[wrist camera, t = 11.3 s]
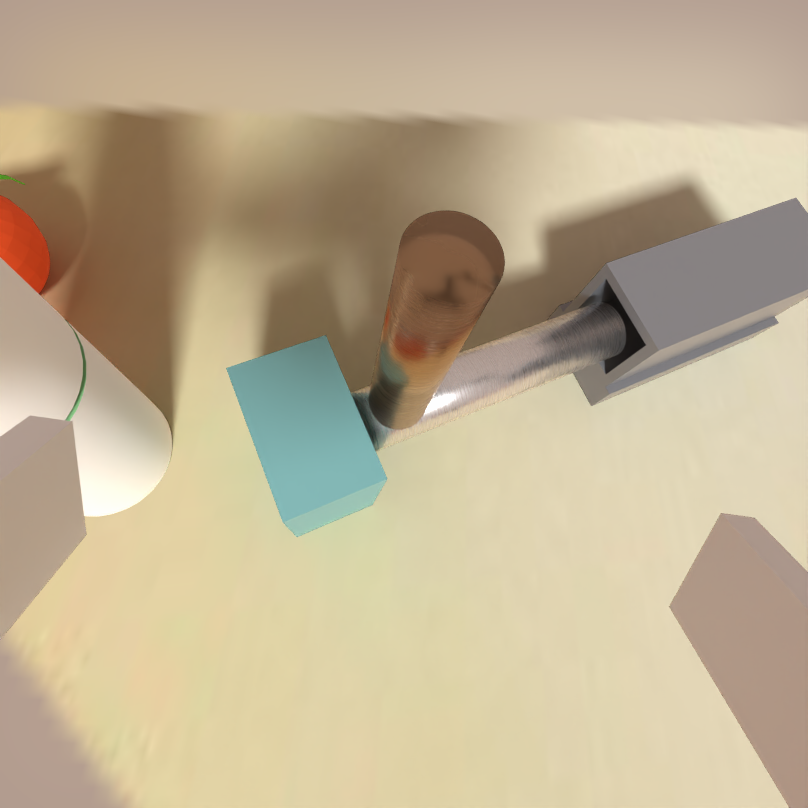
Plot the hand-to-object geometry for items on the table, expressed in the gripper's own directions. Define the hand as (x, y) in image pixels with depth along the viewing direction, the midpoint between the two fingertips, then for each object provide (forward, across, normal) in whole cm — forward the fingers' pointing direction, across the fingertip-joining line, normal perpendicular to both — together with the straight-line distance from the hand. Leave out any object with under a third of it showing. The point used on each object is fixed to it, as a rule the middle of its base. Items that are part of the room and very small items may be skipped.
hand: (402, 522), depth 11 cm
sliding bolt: (+17, +4, -4) cm, 18 cm away
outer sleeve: (+26, +18, -1) cm, 31 cm away
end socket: (+17, -3, -10) cm, 20 cm away
